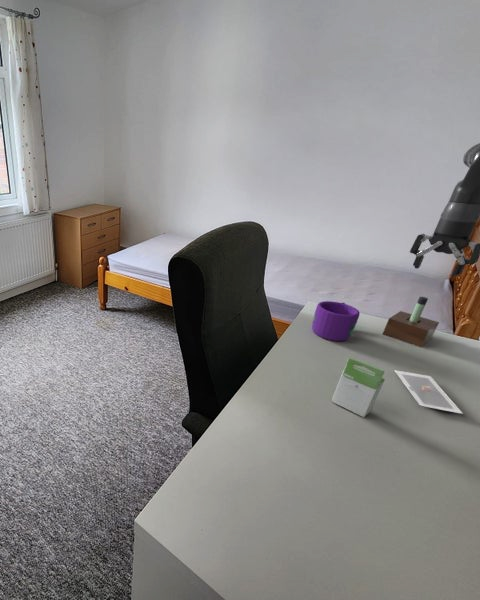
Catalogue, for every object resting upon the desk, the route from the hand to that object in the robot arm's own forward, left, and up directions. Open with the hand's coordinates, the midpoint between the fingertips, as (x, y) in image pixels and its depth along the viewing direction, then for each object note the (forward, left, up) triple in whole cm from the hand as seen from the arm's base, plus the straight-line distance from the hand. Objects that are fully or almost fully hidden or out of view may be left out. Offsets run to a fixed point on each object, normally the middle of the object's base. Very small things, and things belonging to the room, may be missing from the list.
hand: (434, 271), depth 103 cm
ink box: (+54, +5, -23) cm, 59 cm away
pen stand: (+1, 0, -22) cm, 22 cm away
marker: (+1, 0, -23) cm, 23 cm away
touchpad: (+33, +13, -23) cm, 42 cm away
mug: (+18, -15, -23) cm, 32 cm away
